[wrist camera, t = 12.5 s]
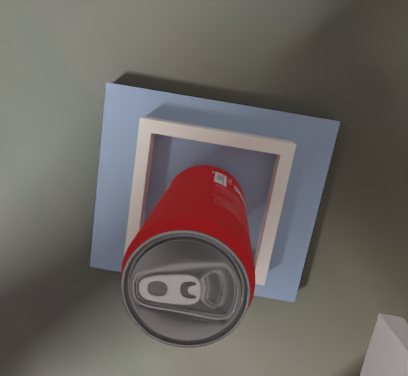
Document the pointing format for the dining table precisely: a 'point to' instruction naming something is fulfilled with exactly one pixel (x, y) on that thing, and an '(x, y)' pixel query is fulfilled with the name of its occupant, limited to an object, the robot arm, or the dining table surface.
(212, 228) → the beverage can
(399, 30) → the dining table surface
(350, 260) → the dining table surface
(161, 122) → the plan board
